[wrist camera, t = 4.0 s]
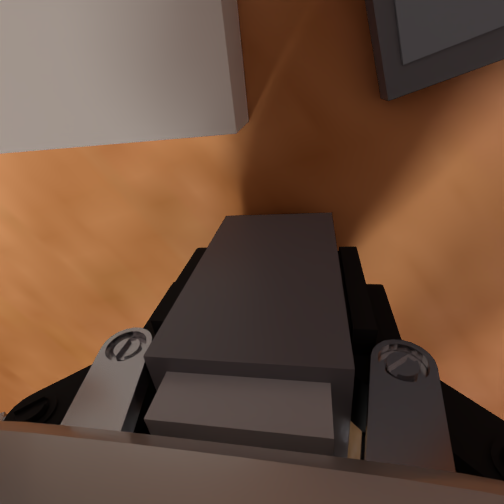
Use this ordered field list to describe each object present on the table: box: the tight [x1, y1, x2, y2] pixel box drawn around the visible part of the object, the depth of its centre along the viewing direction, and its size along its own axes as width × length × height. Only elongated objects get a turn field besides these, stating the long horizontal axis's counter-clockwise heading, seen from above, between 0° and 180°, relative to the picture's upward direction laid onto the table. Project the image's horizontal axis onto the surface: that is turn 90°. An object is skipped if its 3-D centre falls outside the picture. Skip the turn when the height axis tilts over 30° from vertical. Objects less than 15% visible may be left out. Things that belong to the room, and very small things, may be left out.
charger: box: [143, 213, 355, 458], centre depth 9 cm, size 4×4×8 cm
